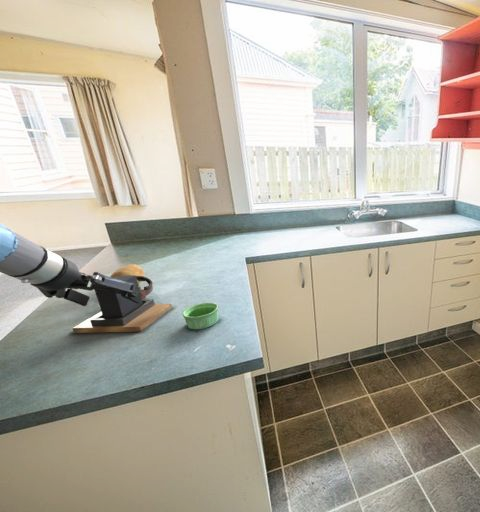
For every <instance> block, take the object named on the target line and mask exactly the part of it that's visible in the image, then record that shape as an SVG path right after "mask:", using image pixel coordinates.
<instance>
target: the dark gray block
mask: <svg viewBox="0 0 480 512" xmlns="http://www.w3.org/2000/svg"><path fill="white" fill-rule="evenodd" d="M115 279H119V280H122V281H126V282H129V283H133V284H136V287H135V291H137V292H139V293H140V290H141V289H140V290H139V287H140V286H139V284H138V282H137V279H136V275H128V276H117V277H115ZM93 291H94V293H95V296H96V300H97V301H98V305H99V308H100V312H101V311H102V314H103V317H104V318H122V317H124V316H125V315H127V314H128V313H130V312H131V311H133V310H134V309H136V308H138V307H139V306H141V305H142V304H143V301H142V300H143V299H142V297H141V300H140V303H135V302H133V301H131V300H128V299H126V298H123V297H122V296H121V294H117V293H111V292H106V291H100V290H95V289H94V290H93ZM140 294H141V293H140Z"/></svg>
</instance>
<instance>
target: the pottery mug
mask: <svg viewBox="0 0 480 512" xmlns="http://www.w3.org/2000/svg"><path fill="white" fill-rule="evenodd" d="M136 279H137V280H138V281H141V282H146V283H147V284H148V285H146V286H143V289H141V286H139V290H140V293H141V294H142V296H141V297H142V300H144V299H145V298H146V297H147V296H148V295H149V294H151V292H152V291H153V290H154V286H153V280H151V279H150V278H149V277H146V276H144V277H143V276H136Z"/></svg>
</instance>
